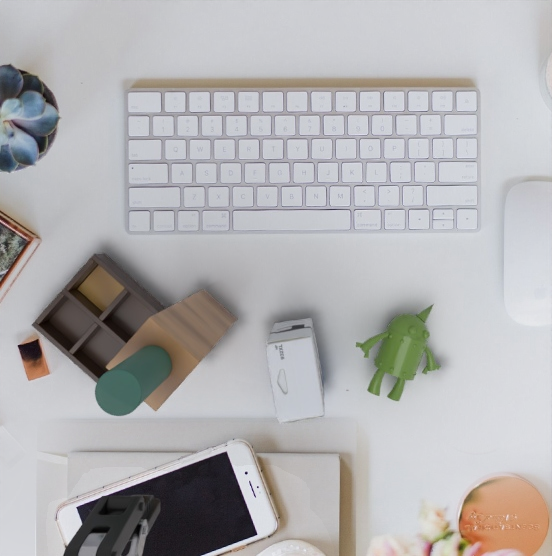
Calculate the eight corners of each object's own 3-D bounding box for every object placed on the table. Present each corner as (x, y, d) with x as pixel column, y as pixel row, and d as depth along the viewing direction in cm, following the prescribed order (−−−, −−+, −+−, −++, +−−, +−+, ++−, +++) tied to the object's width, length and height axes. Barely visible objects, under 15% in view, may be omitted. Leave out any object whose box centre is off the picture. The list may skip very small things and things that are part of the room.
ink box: (325, 386, 68) (326, 418, 56) (284, 392, 68) (277, 426, 57) (313, 316, 68) (312, 334, 56) (272, 322, 68) (263, 342, 56)
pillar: (207, 353, 68) (155, 412, 46) (173, 322, 68) (104, 367, 46) (237, 319, 68) (200, 362, 46) (203, 288, 68) (149, 316, 46)
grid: (112, 381, 69) (102, 388, 65) (43, 320, 68) (30, 325, 65) (172, 313, 68) (165, 318, 65) (104, 252, 68) (93, 253, 65)
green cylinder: (154, 392, 46) (120, 426, 38) (124, 366, 46) (84, 394, 38) (180, 363, 46) (151, 391, 38) (150, 337, 46) (116, 359, 38)
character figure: (351, 395, 61) (389, 290, 61) (332, 377, 66) (367, 280, 65) (436, 414, 66) (472, 317, 65) (412, 396, 70) (445, 305, 70)
